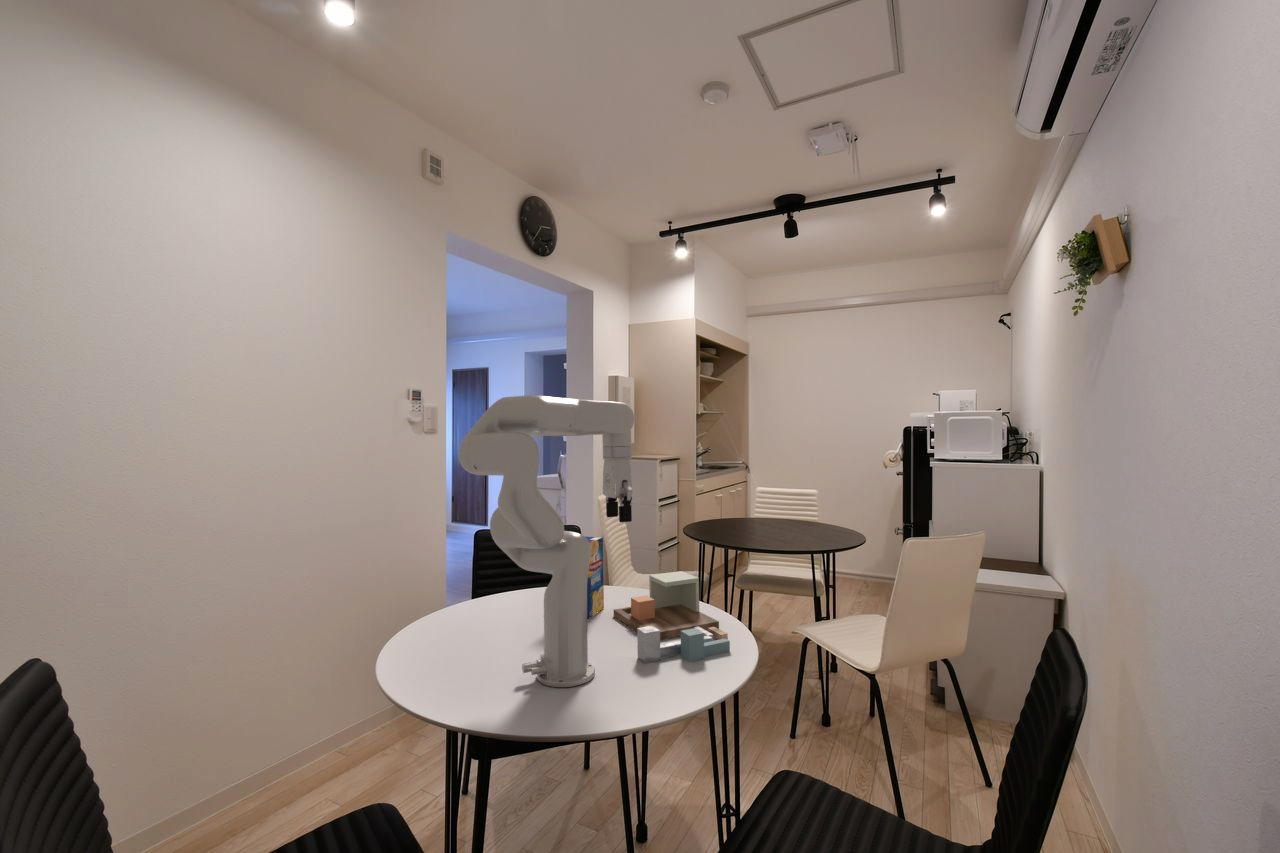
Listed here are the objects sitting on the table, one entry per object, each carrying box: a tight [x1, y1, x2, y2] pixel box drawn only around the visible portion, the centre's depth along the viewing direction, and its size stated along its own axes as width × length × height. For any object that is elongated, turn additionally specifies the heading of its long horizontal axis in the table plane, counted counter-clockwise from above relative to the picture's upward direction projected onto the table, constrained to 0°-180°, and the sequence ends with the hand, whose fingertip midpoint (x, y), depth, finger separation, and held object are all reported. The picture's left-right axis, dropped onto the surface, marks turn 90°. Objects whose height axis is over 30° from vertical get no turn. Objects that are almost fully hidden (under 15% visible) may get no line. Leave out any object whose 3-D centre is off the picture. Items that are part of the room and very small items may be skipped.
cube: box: [630, 595, 655, 620], centre depth 158 cm, size 5×5×5 cm
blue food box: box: [585, 536, 605, 620], centre depth 169 cm, size 7×11×22 cm, turn 159°
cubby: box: [648, 570, 700, 612], centre depth 164 cm, size 11×10×10 cm
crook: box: [636, 626, 714, 665], centre depth 138 cm, size 21×10×7 cm, turn 116°
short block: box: [708, 627, 729, 641], centre depth 144 cm, size 6×2×2 cm, turn 26°
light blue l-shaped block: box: [680, 628, 731, 663], centre depth 134 cm, size 12×4×6 cm, turn 116°
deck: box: [613, 604, 720, 641], centre depth 158 cm, size 21×24×2 cm
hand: (618, 519), depth 145 cm, fingers open, 9 cm apart
